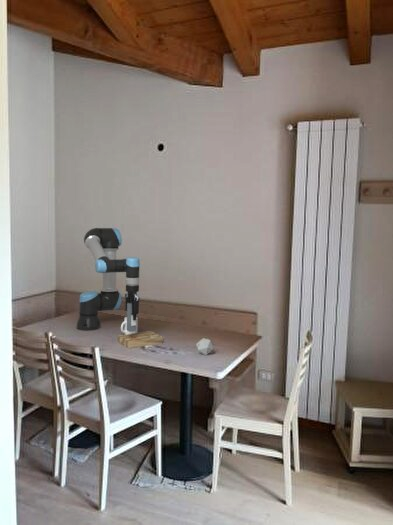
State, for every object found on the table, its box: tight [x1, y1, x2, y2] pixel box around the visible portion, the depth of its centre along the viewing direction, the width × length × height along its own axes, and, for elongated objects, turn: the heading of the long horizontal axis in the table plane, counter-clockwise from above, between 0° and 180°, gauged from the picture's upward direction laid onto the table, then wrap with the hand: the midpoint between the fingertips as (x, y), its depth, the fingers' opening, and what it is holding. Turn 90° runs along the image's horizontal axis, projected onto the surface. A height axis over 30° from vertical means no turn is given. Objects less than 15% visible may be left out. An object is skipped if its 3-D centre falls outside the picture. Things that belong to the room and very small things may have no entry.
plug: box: [126, 303, 138, 332], centre depth 269 cm, size 4×4×16 cm
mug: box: [120, 316, 139, 335], centre depth 290 cm, size 12×8×10 cm
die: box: [196, 337, 214, 356], centre depth 258 cm, size 8×9×10 cm
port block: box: [117, 330, 164, 349], centre depth 274 cm, size 14×22×4 cm, turn 126°
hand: (131, 324), depth 269 cm, fingers closed on plug, 4 cm apart
